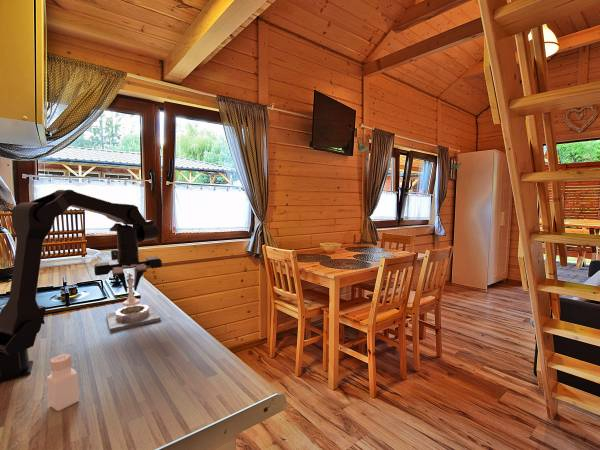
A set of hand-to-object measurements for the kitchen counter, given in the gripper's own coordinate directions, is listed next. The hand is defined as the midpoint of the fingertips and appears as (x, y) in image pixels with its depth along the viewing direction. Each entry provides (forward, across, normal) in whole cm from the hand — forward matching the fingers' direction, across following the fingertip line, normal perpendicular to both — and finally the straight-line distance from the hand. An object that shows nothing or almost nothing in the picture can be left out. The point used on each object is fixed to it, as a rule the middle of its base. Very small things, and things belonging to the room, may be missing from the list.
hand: (130, 291), depth 101 cm
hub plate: (+9, 0, 0) cm, 9 cm away
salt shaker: (+10, +17, +38) cm, 43 cm away
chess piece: (+4, 0, 0) cm, 4 cm away
